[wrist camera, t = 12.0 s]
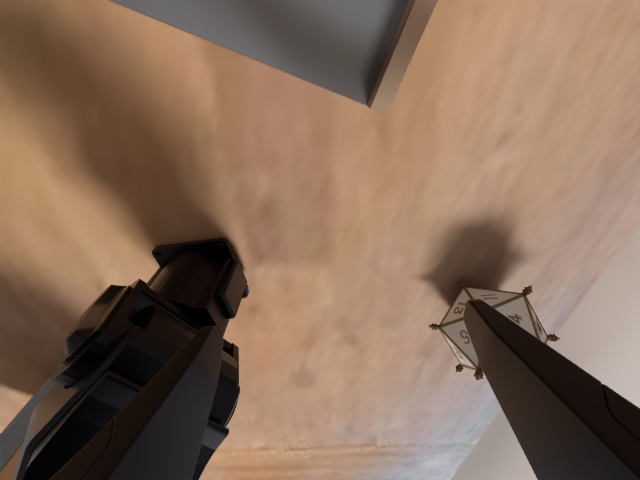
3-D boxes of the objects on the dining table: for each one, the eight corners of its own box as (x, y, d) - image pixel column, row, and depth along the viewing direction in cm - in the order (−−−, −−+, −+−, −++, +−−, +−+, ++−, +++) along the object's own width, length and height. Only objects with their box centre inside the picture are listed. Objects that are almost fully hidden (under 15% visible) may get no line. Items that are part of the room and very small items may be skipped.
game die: (459, 257, 28) (570, 264, 18) (495, 322, 29) (620, 362, 19) (395, 309, 26) (482, 348, 16) (437, 377, 27) (542, 452, 17)
